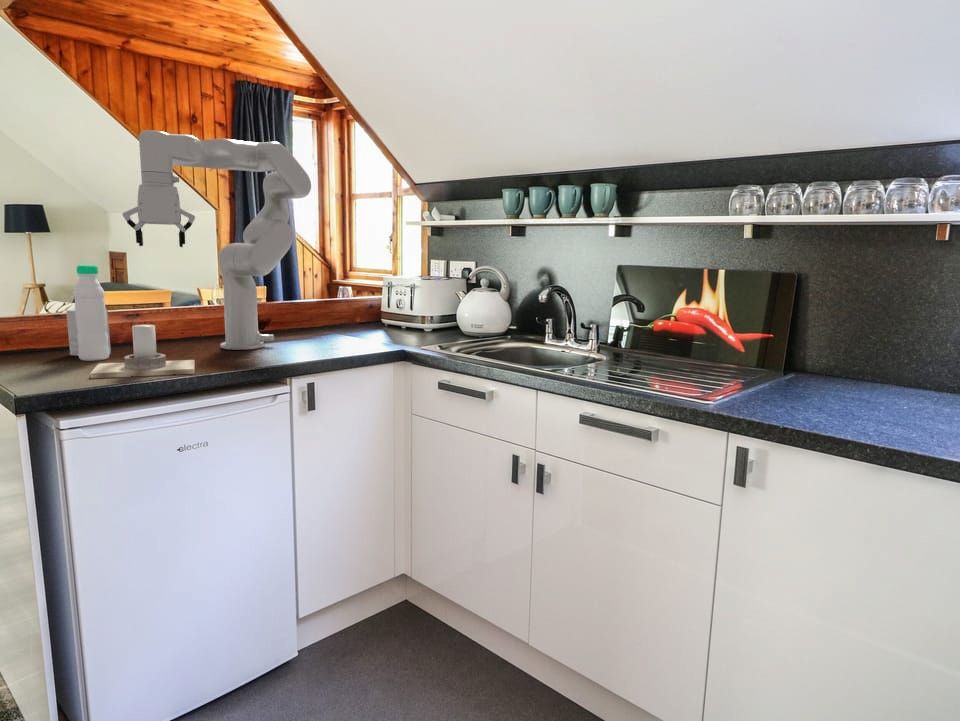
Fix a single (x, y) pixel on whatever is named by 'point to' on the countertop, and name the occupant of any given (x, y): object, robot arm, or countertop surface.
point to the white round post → (144, 341)
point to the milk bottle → (90, 315)
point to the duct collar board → (143, 367)
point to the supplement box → (73, 332)
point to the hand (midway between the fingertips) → (161, 246)
